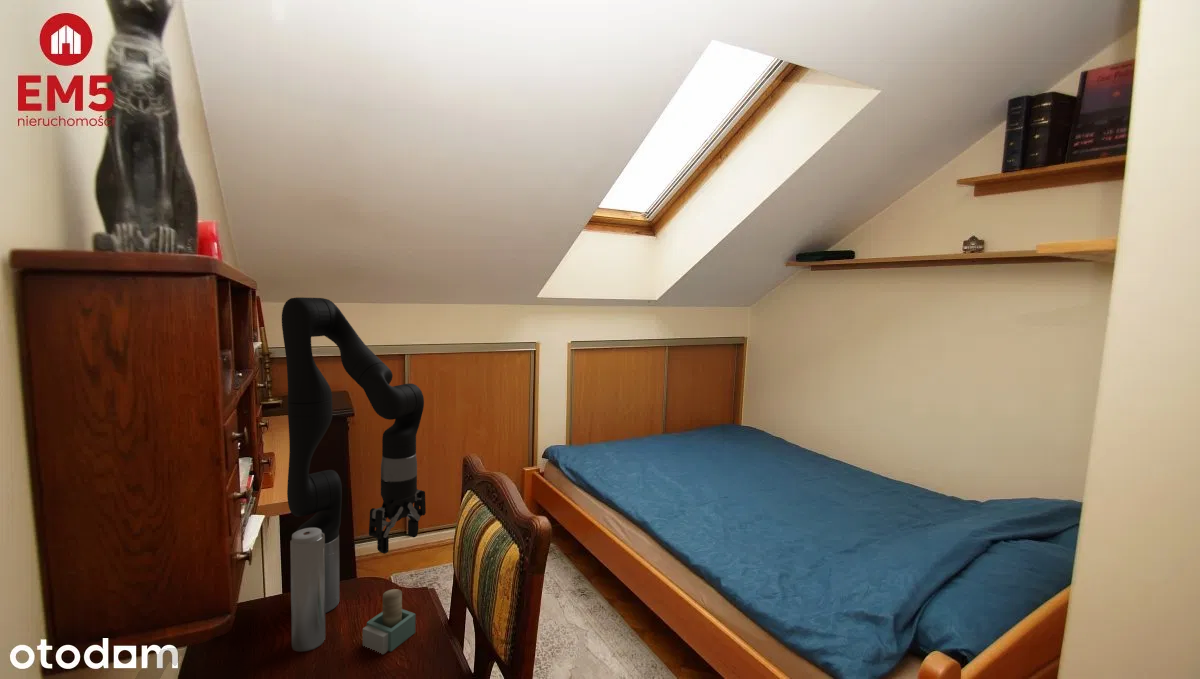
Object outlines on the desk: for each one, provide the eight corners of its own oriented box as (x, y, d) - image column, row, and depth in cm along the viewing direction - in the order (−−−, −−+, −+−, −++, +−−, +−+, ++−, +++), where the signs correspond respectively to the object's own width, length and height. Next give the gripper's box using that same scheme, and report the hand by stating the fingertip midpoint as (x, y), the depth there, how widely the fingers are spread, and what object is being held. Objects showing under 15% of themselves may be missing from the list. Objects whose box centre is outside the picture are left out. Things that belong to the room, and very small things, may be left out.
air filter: (310, 654, 110) (309, 541, 108) (284, 649, 111) (282, 537, 109) (332, 635, 116) (331, 527, 114) (307, 630, 118) (306, 524, 116)
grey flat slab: (362, 646, 113) (362, 628, 113) (367, 642, 114) (367, 625, 114) (383, 654, 111) (383, 636, 110) (388, 650, 112) (388, 633, 112)
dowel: (378, 635, 115) (378, 596, 115) (392, 624, 119) (392, 587, 118) (392, 640, 114) (392, 601, 113) (405, 629, 118) (405, 591, 117)
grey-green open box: (366, 641, 115) (366, 622, 114) (391, 623, 121) (391, 605, 121) (390, 651, 112) (391, 632, 111) (415, 632, 118) (415, 613, 118)
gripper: (410, 462, 123) (409, 528, 124) (360, 480, 110) (360, 553, 112) (434, 467, 120) (433, 535, 121) (386, 487, 107) (385, 562, 108)
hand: (398, 544), depth 116 cm, fingers open, 8 cm apart
